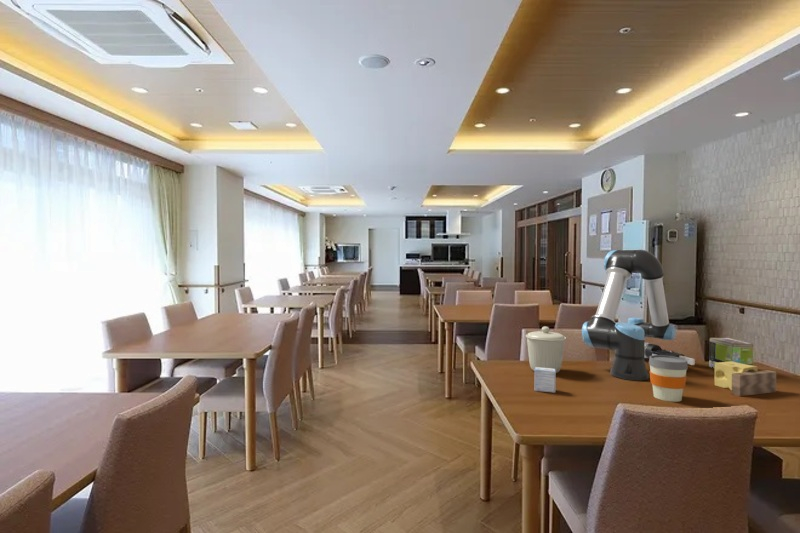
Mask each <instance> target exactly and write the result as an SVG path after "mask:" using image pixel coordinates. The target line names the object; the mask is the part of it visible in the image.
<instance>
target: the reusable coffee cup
mask: <svg viewBox="0 0 800 533" xmlns="http://www.w3.org/2000/svg"><path fill="white" fill-rule="evenodd" d="M648 359H649V360H648V365H649V369H650V370H649V371H648V373H649V379H650V380H649V381H650V383H651V384H652V394H653V397H654V398H655V399H658V400H661V401H664V402H665V401H666V402H673V403H675V402H677V403H678V402H681V401H682V400H683V392H684V389H685V388H686V383H687V376H688V375H687V370H688V368H689V367H688V365H689V364H687V360H686V359H683V358H679V357H674V356H666V355H652V356H650V358H648Z"/></svg>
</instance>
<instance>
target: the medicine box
mask: <svg viewBox="0 0 800 533" xmlns="http://www.w3.org/2000/svg"><path fill="white" fill-rule="evenodd" d="M556 374H557V373H556V371H555V369H552V368H540V367H535V371H534V391H535V392H545V393H556V376H557V375H556Z"/></svg>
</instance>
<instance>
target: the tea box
mask: <svg viewBox="0 0 800 533" xmlns="http://www.w3.org/2000/svg"><path fill="white" fill-rule="evenodd" d="M708 356H709V359H708V360H709V361H708V362H709V363H708V367H709V368H712V367H713V368H712V369H715V363H719V362H729V361H733V362H737V363H741V364H746V365H752V366H754V365H753V364H754V343H752V342H749V341H748V342H747V341H743V340H739V339H735V338H729V337H709V355H708Z"/></svg>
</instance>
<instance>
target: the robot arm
mask: <svg viewBox="0 0 800 533" xmlns="http://www.w3.org/2000/svg"><path fill="white" fill-rule="evenodd" d="M603 263H604V264H603V269H604V270H605V272H606V274H607V278H606V280H605V284H604V287H603V290H602V294H601V296H600V299H599V303H598V305H597V306H598V307H597V309H596V312H595V314H594V315H592V316H591V317H590V320H589V321H584V323H583V324H582V327H581V336H582V340H583V342H584V344H585V345H586V346H589V347H592V348H595V349H596V348H597V349H603V350H604V349H605V350H609V351H614V359H613V362H612V365H611V367H610V372H609V373H610V375H611V376H613V377H615V378H618V379H623V380H627V381H628V380H629V381H646V380H647V381H648V380H649V379H650V373H649V371H648V369H647V365H646V362H645V359H649V358H650V356H652V355H666V356H674V357H679V358H683V359H686V360H687V365H691V366H695V363H696V362H695V361H696V360H695V358H692V357H689V356H686V355H685V354H683V353H678V352H676V351H674V350H666V349H663V348H661V346H660V345H657V344H654V343H650V342H646V338H651V339H657V340H663V341H673V340H675V338H676V336H677V329H676V326H674V325H671V324H670V321H669V313H668V307H667V301H666V295H665V289H664V283H663V282H664V281H663V278H664V276H665V273H664V272H665V271H664V268H663V265H662V264H661V262H660V260H659V259H658V258H657V257H656V256H655V255H654V254H653V253H651V252H650V251H647V250H645V249H623V250H622V249H615V250H610V251H608V252H607V254H606V255H605V256H604V261H603ZM633 274H640V275H641V279H642V280H644V285H645V291H646V297H647V302H648V308H649V313H650V314H649V316H650V322H645V321H644V320H645V319H644V318H642V317H632V316H631V317H629V318H628V319H627V322H616V321H615V320H616V315H617V313H618V310H619V306H620V303H621V300H622V297H623V294H624V290H625V286H626V283H627V280H630V279H631V277H632V275H633Z"/></svg>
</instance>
